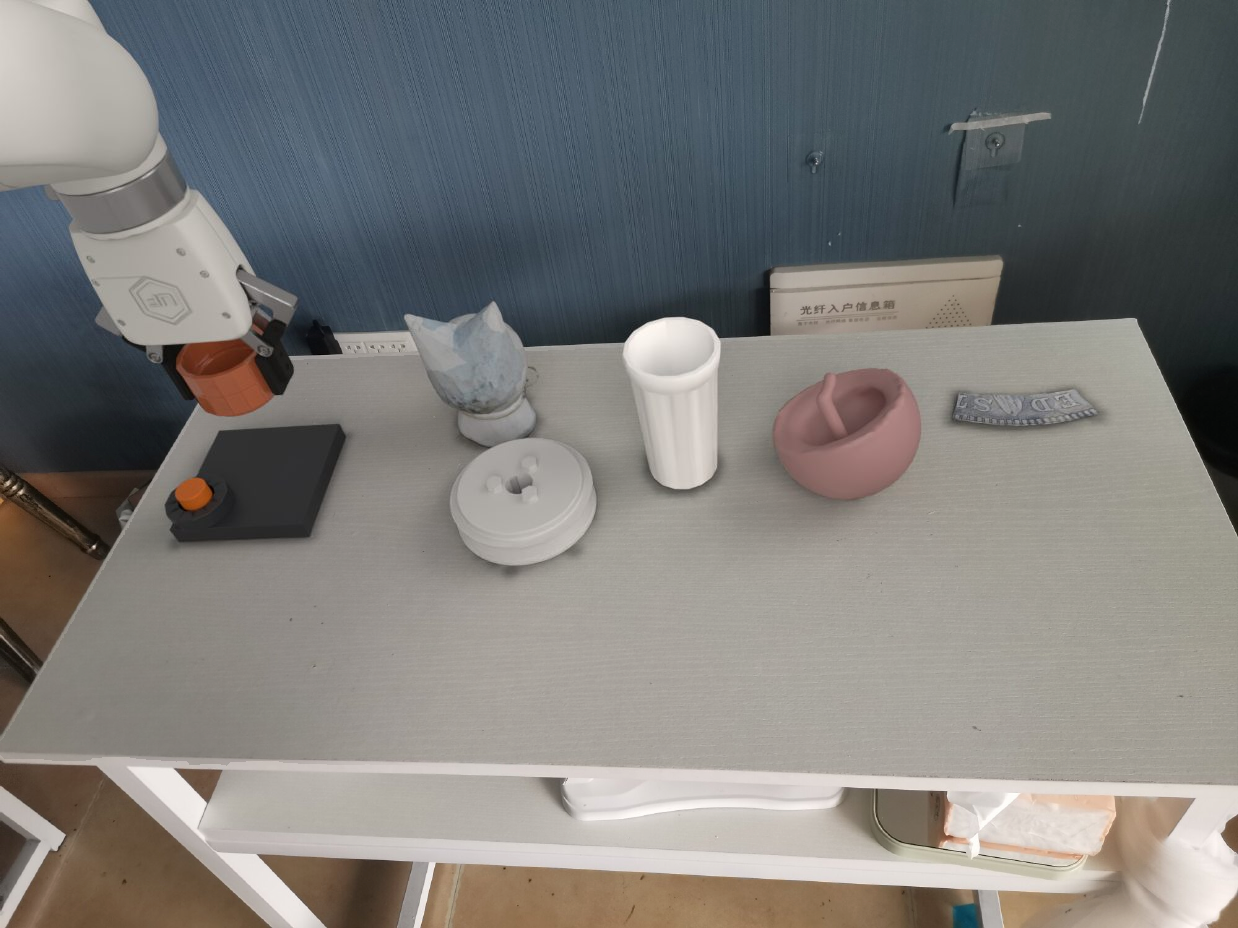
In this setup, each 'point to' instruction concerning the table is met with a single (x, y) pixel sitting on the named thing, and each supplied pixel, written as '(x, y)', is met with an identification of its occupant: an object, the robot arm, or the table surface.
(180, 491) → the button
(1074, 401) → the coin fragment
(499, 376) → the figurine
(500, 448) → the gray bolted wheel hub
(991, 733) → the table surface
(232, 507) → the scale
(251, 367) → the flower pot
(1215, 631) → the table surface
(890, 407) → the mortar and pestle
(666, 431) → the cup
